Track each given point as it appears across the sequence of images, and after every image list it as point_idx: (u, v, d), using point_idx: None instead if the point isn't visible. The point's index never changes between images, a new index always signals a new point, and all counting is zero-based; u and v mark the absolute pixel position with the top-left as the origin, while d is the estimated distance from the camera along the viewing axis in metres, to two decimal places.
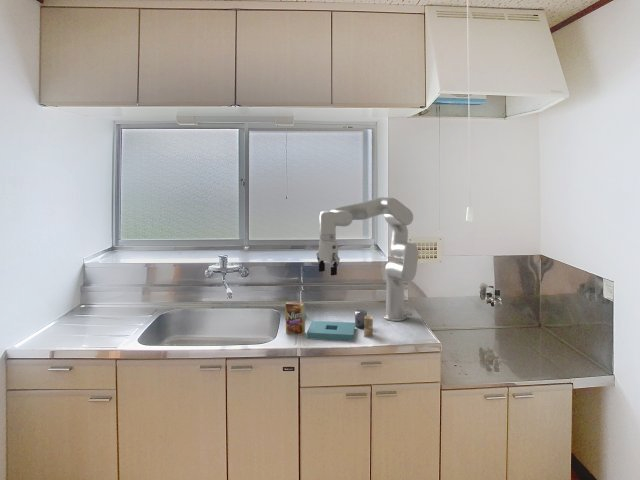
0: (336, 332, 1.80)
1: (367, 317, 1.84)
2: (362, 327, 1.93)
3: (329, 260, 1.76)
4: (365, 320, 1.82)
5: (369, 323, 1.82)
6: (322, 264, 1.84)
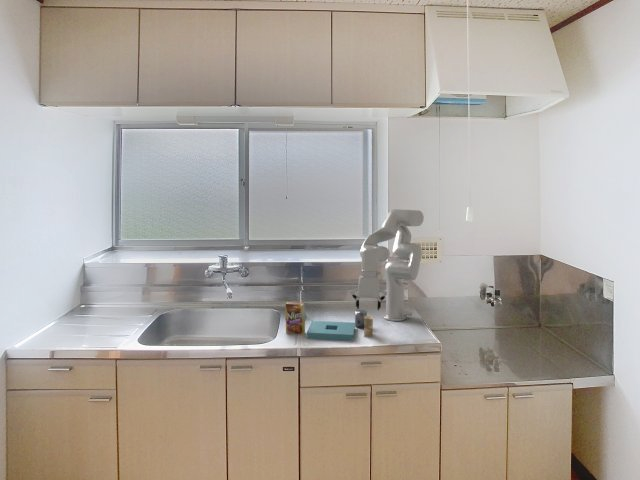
0: (336, 332, 1.80)
1: (367, 317, 1.84)
2: (362, 327, 1.93)
3: (377, 295, 1.79)
4: (365, 320, 1.82)
5: (369, 323, 1.82)
6: (358, 301, 1.83)
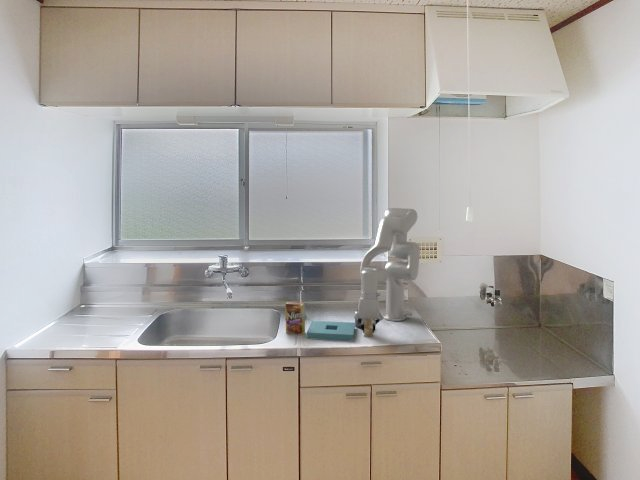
0: (336, 332, 1.80)
1: None
2: None
3: (377, 317, 1.81)
4: (365, 320, 1.82)
5: (369, 323, 1.82)
6: None
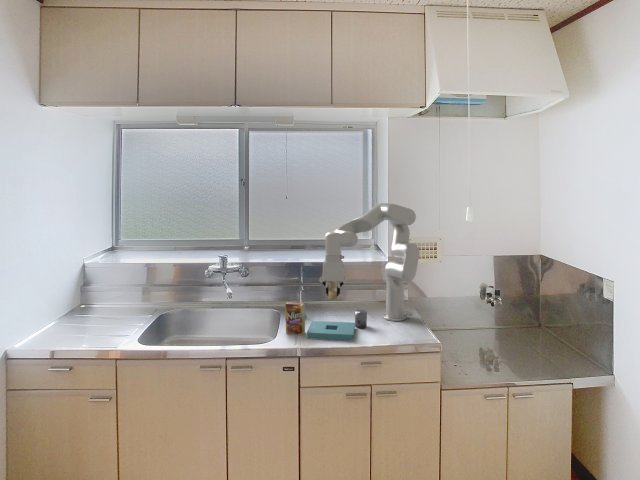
0: (336, 332, 1.80)
1: None
2: (362, 327, 1.93)
3: (341, 279, 1.81)
4: (329, 283, 1.82)
5: (334, 285, 1.81)
6: (328, 288, 1.84)
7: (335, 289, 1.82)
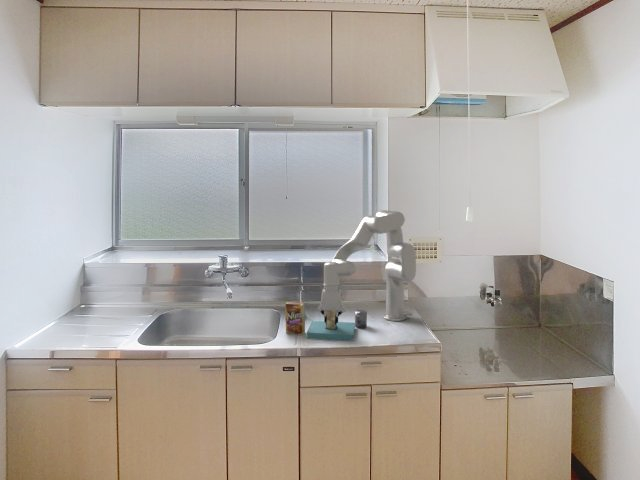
0: (336, 332, 1.80)
1: None
2: (362, 327, 1.93)
3: (339, 309, 1.83)
4: (327, 312, 1.84)
5: (332, 314, 1.84)
6: None
7: (333, 318, 1.84)
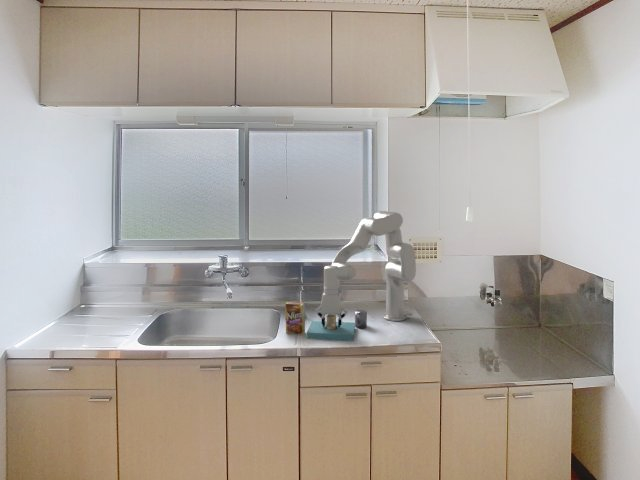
0: (336, 332, 1.80)
1: (330, 315, 1.86)
2: (362, 327, 1.93)
3: (339, 312, 1.83)
4: (327, 318, 1.84)
5: (332, 321, 1.84)
6: (324, 319, 1.87)
7: (333, 325, 1.84)
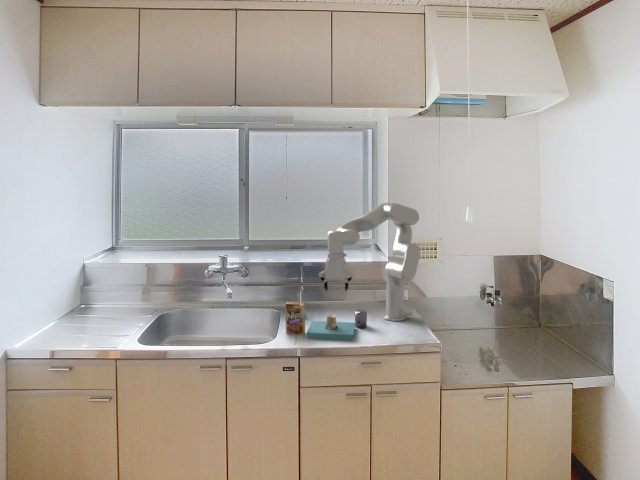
0: (336, 332, 1.80)
1: (330, 315, 1.86)
2: (362, 327, 1.93)
3: (344, 277, 1.84)
4: (327, 318, 1.84)
5: (332, 321, 1.84)
6: (327, 283, 1.87)
7: (333, 325, 1.84)
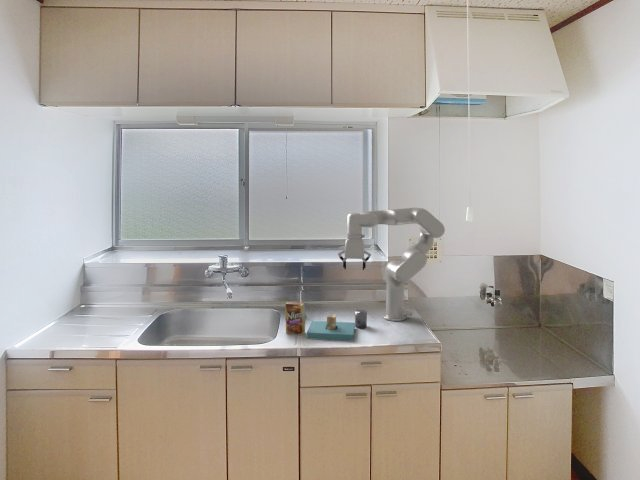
0: (336, 332, 1.80)
1: (330, 315, 1.86)
2: (362, 327, 1.93)
3: (362, 256, 1.97)
4: (328, 318, 1.84)
5: (332, 321, 1.84)
6: (345, 262, 2.01)
7: (333, 325, 1.84)
